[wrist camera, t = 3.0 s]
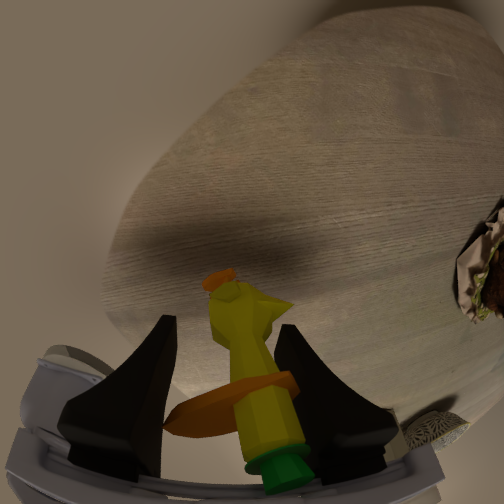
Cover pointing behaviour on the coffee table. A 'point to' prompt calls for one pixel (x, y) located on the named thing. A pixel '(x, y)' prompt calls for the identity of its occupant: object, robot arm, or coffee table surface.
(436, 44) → the coffee table surface
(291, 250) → the coffee table surface
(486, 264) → the bear figurine
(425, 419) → the bowl
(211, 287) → the toy figure
